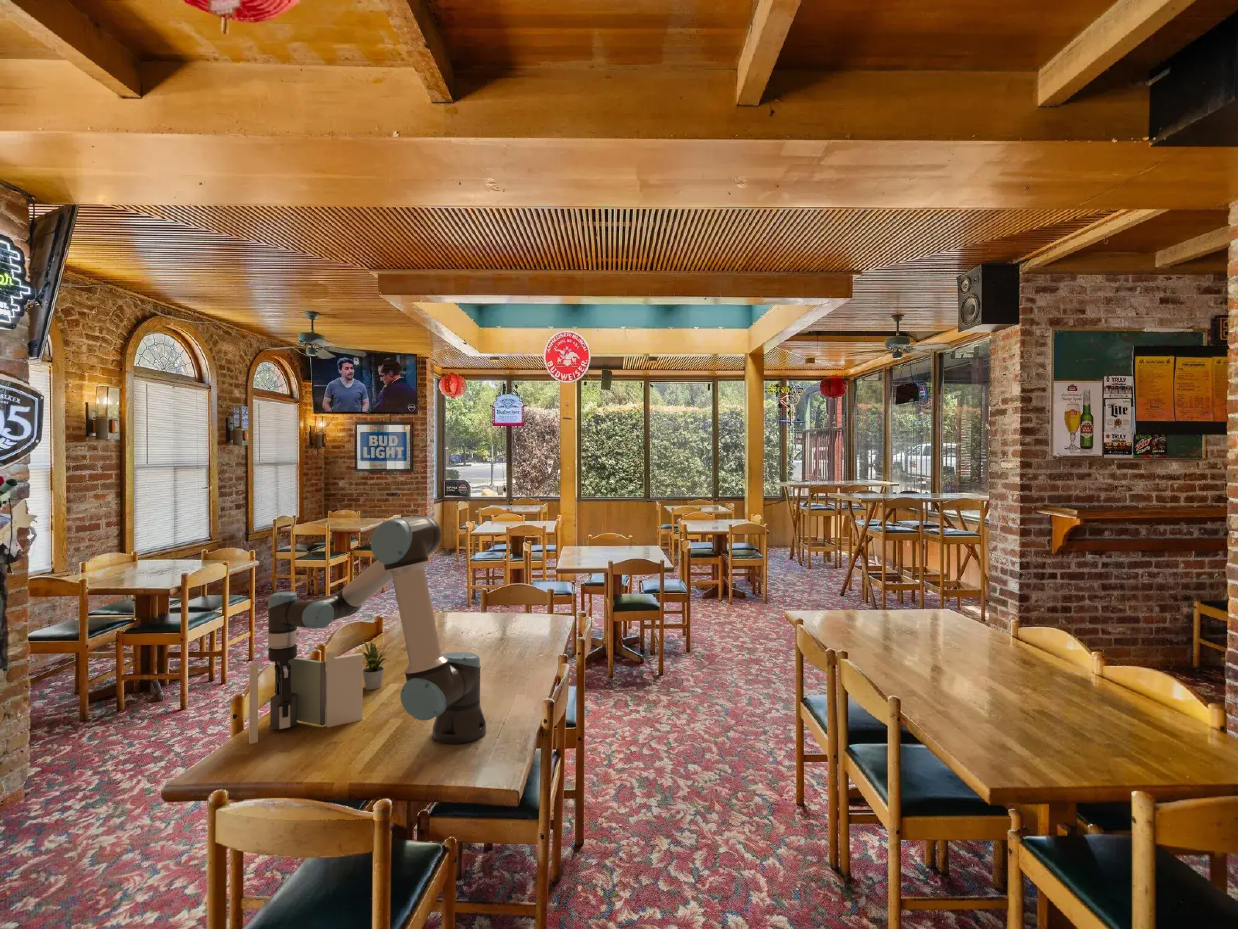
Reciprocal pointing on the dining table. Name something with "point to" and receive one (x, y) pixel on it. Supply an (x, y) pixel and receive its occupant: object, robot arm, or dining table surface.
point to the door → (309, 689)
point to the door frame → (340, 691)
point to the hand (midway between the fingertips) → (282, 723)
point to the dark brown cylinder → (275, 711)
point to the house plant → (373, 667)
